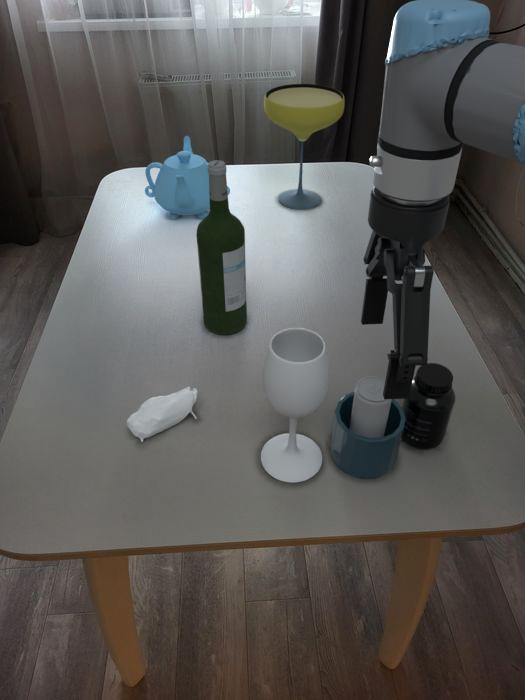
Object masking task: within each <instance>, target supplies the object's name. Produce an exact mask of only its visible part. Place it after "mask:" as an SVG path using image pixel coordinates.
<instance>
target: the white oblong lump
mask: <svg viewBox="0 0 525 700" xmlns="http://www.w3.org/2000/svg"><path fill="white" fill-rule="evenodd" d="M198 392H199V391H198V390H197V387H196V388H195V387H193V389H191V387H190V386H187V387H185V388H183V389H181V390H179V391H176V392H173V393H171V394H168V395H158V396H153V397H150V398H148V399H147V400H145V401H144V402H142V403H141V405H140V406H139V408H138V410H137V411H135V412H134V413H132V414H130V416H129V417H128V419H127V421H126V427H127V428H128V429H129V430H130V432H131V433H132V434H133V436H134V437H137V438H138V439H139V440H140V442H141V443H144V439H149V438H151V437H153V436H155V435H157V434H158V433H161V432H164V431H165V430H168V429H169V428H171V427H173V426H175V425H177V424H179V423H180V422H182V421H183V420H184V419H185V418H186V417H187V416H188V415H189V414H191V415H192V417H193V418H194V419H195V420H197V419H198V417H197V415H196V414H195V413H194V412H193V406H194V405H195V404H196V401H197V399H198Z"/></svg>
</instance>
